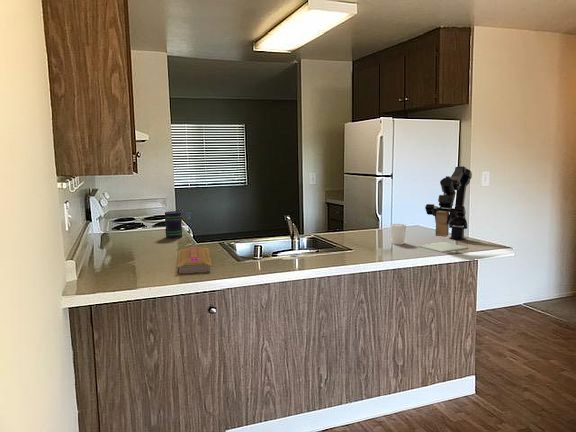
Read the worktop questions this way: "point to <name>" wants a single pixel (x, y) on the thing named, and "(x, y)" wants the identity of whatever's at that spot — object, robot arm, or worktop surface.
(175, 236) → the storage jar
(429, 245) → the sage placemat
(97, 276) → the worktop surface
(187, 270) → the pink-topped tan slab
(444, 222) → the walnut block
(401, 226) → the white cup
